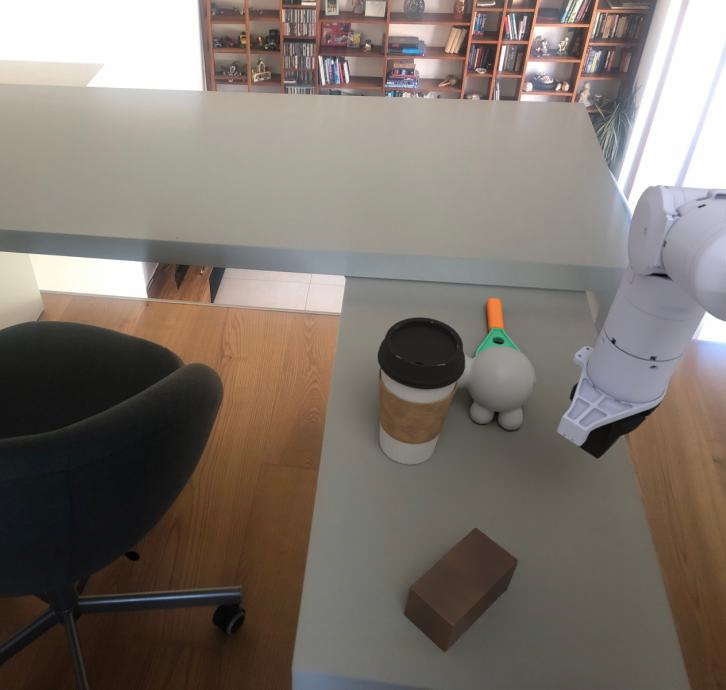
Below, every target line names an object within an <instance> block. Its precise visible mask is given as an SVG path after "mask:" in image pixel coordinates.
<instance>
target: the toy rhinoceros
mask: <svg viewBox="0 0 726 690" xmlns="http://www.w3.org/2000/svg"><path fill="white" fill-rule="evenodd" d="M521 352H522V351H521ZM521 352H519V351H518V350H516V349H513V348H510V347H506V346H495V347H490V348H487V349H485V350H483V351H481V352H480V353H479V354H477V355H476V356H475V355H474V356H475V357H474V356H473V357H470V356H468V355H467V354H466V353H464V355H465V369H464V373H463V374H462V376H461V377H460V378H459V379H458V384H457V388H456V390H461V389H466V391H468V392H469V395H470V396H471V398H472V399H473V402H472V403H471V407H470V409H469V416H470V419H471V420H472V421H473V422H475V423H477V424H479V425H485V424H489V423H491V422H492V420H493V419H494V417H495V412H498V415H497V422H498V424H499V425H500V427H501V428H503V429H504V430H507V431H515V430H517V429H519V428H520V427H522V425H523V421H524V414H523V409H522V406H524V405H525V404H526V403H527V402H528V401H529V400H530V398H531V396H532V394H533V392H534V391H535V387H536V386H537V385H538V380H537V378H536V372H535V369H534V365H533V364H532V362H531V361H530V360H529V358H528V357H527V356H526V355H525V354H524V353H523V352H522V353H523V354H522V353H521Z"/></svg>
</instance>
